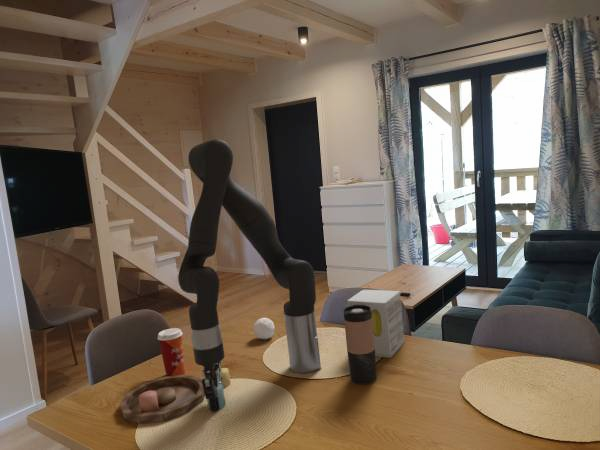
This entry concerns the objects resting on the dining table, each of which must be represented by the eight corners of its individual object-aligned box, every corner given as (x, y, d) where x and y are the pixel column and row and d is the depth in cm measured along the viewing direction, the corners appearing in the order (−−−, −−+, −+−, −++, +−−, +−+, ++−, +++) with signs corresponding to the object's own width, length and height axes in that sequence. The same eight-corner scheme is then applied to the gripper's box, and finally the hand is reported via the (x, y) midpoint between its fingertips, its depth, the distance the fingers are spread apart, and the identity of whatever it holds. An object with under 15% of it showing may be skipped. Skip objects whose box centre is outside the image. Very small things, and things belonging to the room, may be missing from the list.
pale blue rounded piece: (226, 401, 119) (224, 383, 119) (224, 409, 115) (221, 391, 114) (210, 403, 119) (207, 385, 119) (207, 411, 115) (204, 393, 114)
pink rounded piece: (161, 407, 119) (158, 389, 119) (156, 416, 115) (153, 397, 114) (144, 409, 119) (141, 391, 119) (139, 418, 115) (136, 399, 114)
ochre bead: (231, 383, 131) (229, 367, 131) (229, 390, 127) (227, 373, 126) (216, 385, 131) (214, 368, 131) (214, 392, 127) (212, 375, 126)
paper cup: (181, 379, 137) (175, 335, 136) (158, 380, 139) (151, 336, 137) (192, 368, 145) (186, 326, 143) (170, 368, 146) (164, 327, 145)
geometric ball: (260, 345, 166) (250, 326, 169) (279, 334, 167) (269, 315, 170) (258, 342, 159) (247, 322, 162) (278, 330, 160) (267, 311, 163)
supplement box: (351, 353, 143) (345, 300, 141) (367, 338, 154) (362, 288, 152) (390, 358, 136) (386, 302, 134) (405, 342, 147) (400, 290, 145)
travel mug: (380, 373, 127) (374, 305, 125) (373, 386, 120) (366, 314, 118) (354, 371, 130) (348, 304, 128) (346, 383, 123) (339, 313, 121)
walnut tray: (212, 381, 134) (211, 371, 134) (196, 421, 112) (195, 410, 112) (138, 389, 134) (137, 379, 133) (109, 431, 112) (107, 420, 112)
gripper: (217, 351, 108) (227, 418, 110) (226, 330, 122) (234, 390, 124) (186, 355, 108) (196, 422, 110) (198, 334, 122) (207, 393, 124)
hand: (216, 404), depth 117 cm, fingers closed on pale blue rounded piece, 4 cm apart
